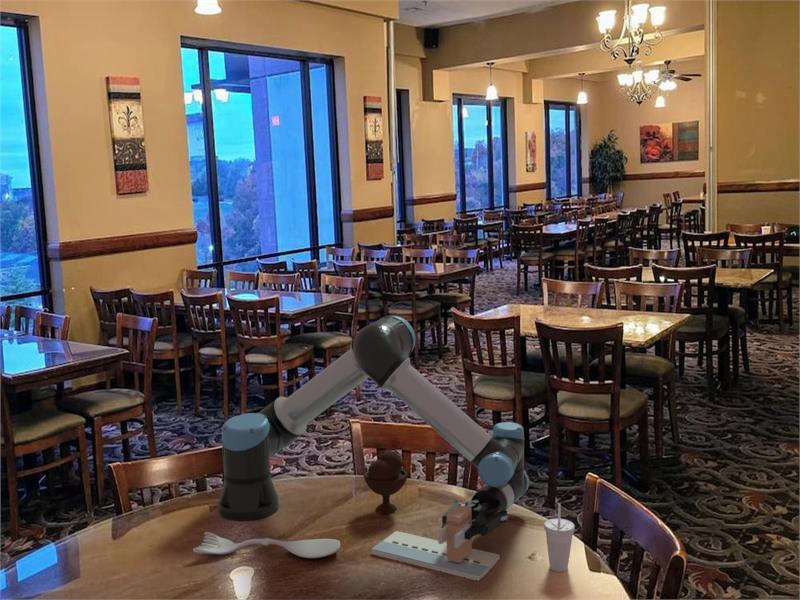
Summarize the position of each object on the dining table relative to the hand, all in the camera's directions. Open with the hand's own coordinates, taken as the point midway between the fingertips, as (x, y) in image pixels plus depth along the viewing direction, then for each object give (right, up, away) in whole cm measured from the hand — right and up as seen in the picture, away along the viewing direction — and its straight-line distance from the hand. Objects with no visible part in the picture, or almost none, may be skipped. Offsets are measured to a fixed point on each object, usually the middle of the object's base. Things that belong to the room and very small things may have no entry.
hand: (448, 539), depth 166 cm
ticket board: (-2, -6, +9) cm, 11 cm away
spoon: (-39, -7, +12) cm, 42 cm away
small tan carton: (+3, -5, +6) cm, 8 cm away
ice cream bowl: (-13, -3, +34) cm, 37 cm away
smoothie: (+24, -7, +3) cm, 25 cm away
